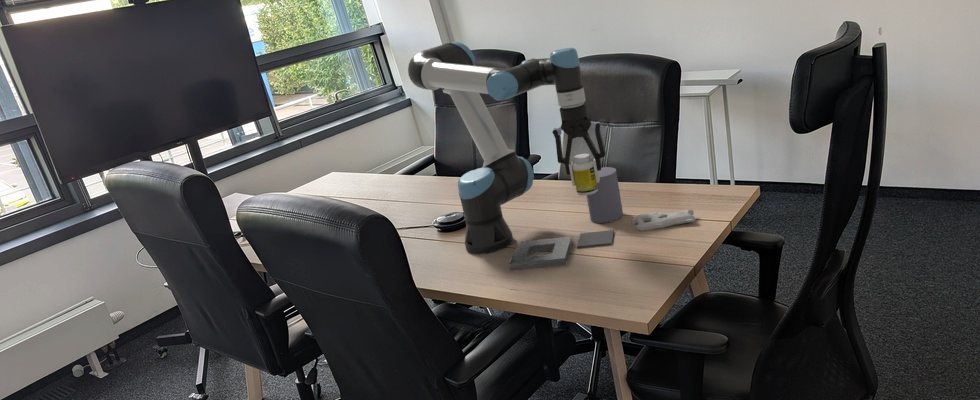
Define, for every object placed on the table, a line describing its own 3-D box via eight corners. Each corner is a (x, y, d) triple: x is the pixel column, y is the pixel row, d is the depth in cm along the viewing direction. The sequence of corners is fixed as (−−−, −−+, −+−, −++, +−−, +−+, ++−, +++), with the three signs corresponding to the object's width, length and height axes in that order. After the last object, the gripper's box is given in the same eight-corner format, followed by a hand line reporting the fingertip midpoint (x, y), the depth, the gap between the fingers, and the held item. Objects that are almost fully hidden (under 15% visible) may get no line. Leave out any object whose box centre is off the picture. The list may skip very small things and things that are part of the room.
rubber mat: (577, 248, 216) (576, 246, 216) (580, 235, 225) (580, 233, 225) (611, 244, 214) (611, 242, 213) (613, 231, 223) (613, 229, 223)
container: (584, 218, 239) (576, 174, 234) (612, 209, 242) (605, 165, 237) (601, 226, 229) (593, 180, 225) (629, 216, 232) (622, 170, 228)
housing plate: (510, 270, 211) (509, 263, 210) (520, 248, 226) (519, 242, 225) (566, 264, 207) (564, 258, 206) (572, 242, 221) (571, 236, 221)
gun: (691, 202, 223) (694, 214, 214) (693, 212, 224) (696, 225, 215) (630, 213, 227) (631, 226, 218) (633, 223, 229) (633, 236, 219)
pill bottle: (597, 194, 211) (591, 157, 208) (576, 197, 213) (569, 160, 210) (599, 187, 217) (592, 151, 214) (578, 190, 219) (571, 154, 215)
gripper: (536, 113, 207) (551, 191, 213) (606, 102, 201) (618, 182, 208) (541, 107, 213) (555, 183, 220) (607, 96, 208) (620, 174, 215)
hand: (586, 182), depth 214 cm, fingers closed on pill bottle, 6 cm apart
